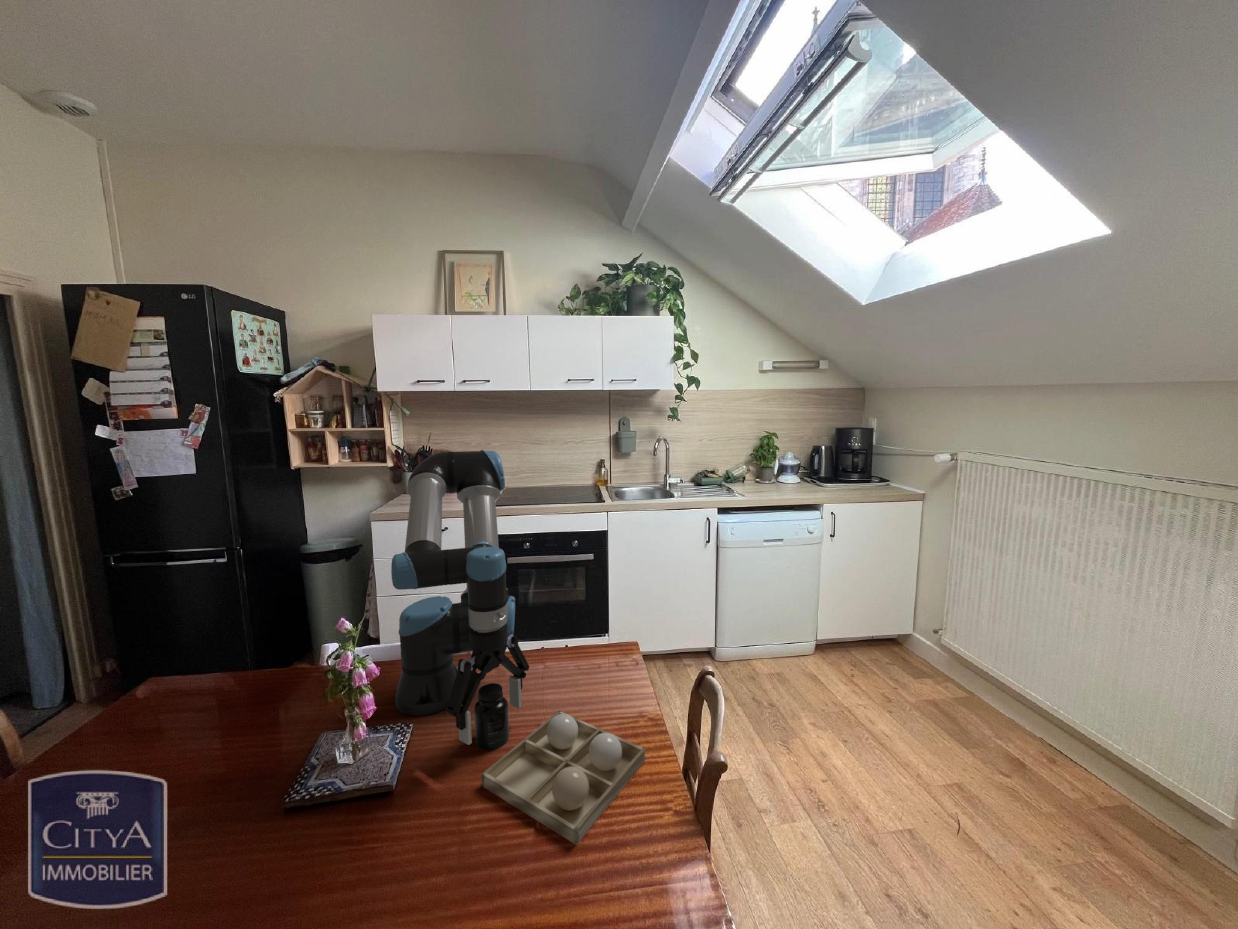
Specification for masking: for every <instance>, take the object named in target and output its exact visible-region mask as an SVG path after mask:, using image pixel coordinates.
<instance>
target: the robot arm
mask: <svg viewBox="0 0 1238 929" xmlns="http://www.w3.org/2000/svg"><path fill="white" fill-rule="evenodd" d="M505 480H506V478H505V474H504V466H503V462H502V458H501V457H500V455H499V453H498V452H497V451H495V450H483V449H481V450H477V451H476V450H470V451H469V450H468V451H465V450H463V451H440V452H436V453H434V454H432V455H429V456H427V457H425V459H423V460H421V462H419V463H418V464H417V465H416V466H415V467H414V468H413V470H412V472H411V474H410V476H409V478H408V482H407V494H408V495H409V497H410V499H409V500H410V501H409V507H408V508H409V510H408V519H407V528H406V535H405V536H406V538H405V545H404V546H405V547H404V552H401V553H396V554H394V555H393V557H392V560H391V568H390V569H391V570H390V572H391V582H392V586H393V588H394V589H396V590H399V591H400V590H417V589H418V590H419V589H424V588H434V587H435V588H436V587H441V586H448V585H449V586H453V585H459V584H466V588H465V590H464V591H463V592H462V593H461V594H460V602H454V603H453V602H452V600H451V599H450V597H447V596H441V595H440V596H437V595H436V596H430V597H427V598H426V597H425V598H423V599H420V600H417V601H415V602H413V603H411V604H409V605H407V606H406V607H405V608H404V609H403V610H402V612H401V613H400V615H399V620H398V622H399V628H398V635H399V642H400V645H399V646H400V647H399V648H400V663H401V664H400V665H401V671H400V672H401V673H400V677H399V681H398V683H397V687H396V691H395V692H394V693H395V696H394V697H395V698H394V701H395V707H396V709H397V710H398V711H399V712H401V713H402V714H404V715H409V716H426V715H432V714H435V713H438V712H441V711H444V710H445V713H446V714H448V715H451V716H452V717H454V718H455V727H456V729H458V737H459V738H458V739H459V741H461V742H462V743H463V744H466V745H468V746H469V745H471V744H472V743H473V742H472V740H473V739H472V722H471V720H472V719H471V715H472V714H471V711H470V710H468V709H469V707H470V705H471V703H472V701H473V699H474V696H475V695H476V693H477V692H478V691H477V690H478V689H479V687H480V683H481V682H482V680H484V679H485V678H486V675H487V674H488V673H490V672H491V671H493V670H494V669H497V668H499V667H500V665H501V666H502V667H504V668H505V669H506V670H507V671H509V673H511V674H512V675H509V676H508V681H509V705H510V706H512V707H514V708H516V709H518V710H519V709H520V708H522V690H523V679H526V676H527V673H526V672H528V670H530V665H529V662H528V661H527V659H526V657H525V654H524V653H523V650H522V649H521V647H520V645H519V640H518V639H519V638H518V636H516V635H514V631H515V619H516V615H515V614H516V598H515V596H514V595H513V596H512V595H509V589H508V588H507V574H506V572H507V562H506V554H505V552H504V550H503V549H502V548H500V546H499V533H498V532H499V531H498V519H497V518H498V517H497V506H496V505H497V504H496V503H497V502H496V501H497V499H499V498H500V496H501V491H504V490H505V487H506V481H505ZM446 494H456V498H457V500H458V501H460V502H461V503H462V507H463V508H462V510H463V529H464V547H459V548H452V549H451V548H449V549H442V543H443V542H442V541H443V540H442V537H443V534H442V531H443V530H442V528H443V523H442V522H443V498H444V496H445V495H446ZM506 650H508V651H509V653H510V655H511V657H512V659H513V661H514V662H513V661H512V660H511V659H510V658H509V657H508V656H507V655H506ZM468 652H469V653H470V652H471V655H470V657H469V658H467V659H463V658H460V659H459V660H458V662H457V666H456V663H455V661H454V659H455V658H454V654H455V655H456V654H462V653H468ZM477 670H478V671H479V672H477Z"/></svg>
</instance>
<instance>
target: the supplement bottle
mask: <svg viewBox="0 0 1238 929" xmlns="http://www.w3.org/2000/svg"><path fill="white" fill-rule="evenodd" d="M477 692H478V698H477V701H476V703H475V705H474V708H473V713H474V714H473V715H474V732H475V733H474V734H475V745H476V746H477V747H478V748H479V749H481V750H484V751H495V750H498V749H500V748H501V747H503V746H505V745H506V744H507V743H508V741H509V740H510V722H509V721H510V720H509V718H510V717H509V702H508V700H507V698H506V697H504V695H503V686H502V685H501V684H500V683H495V682H494V683H486V684H484V685H482V686H481V687H479V688H478V691H477Z"/></svg>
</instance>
